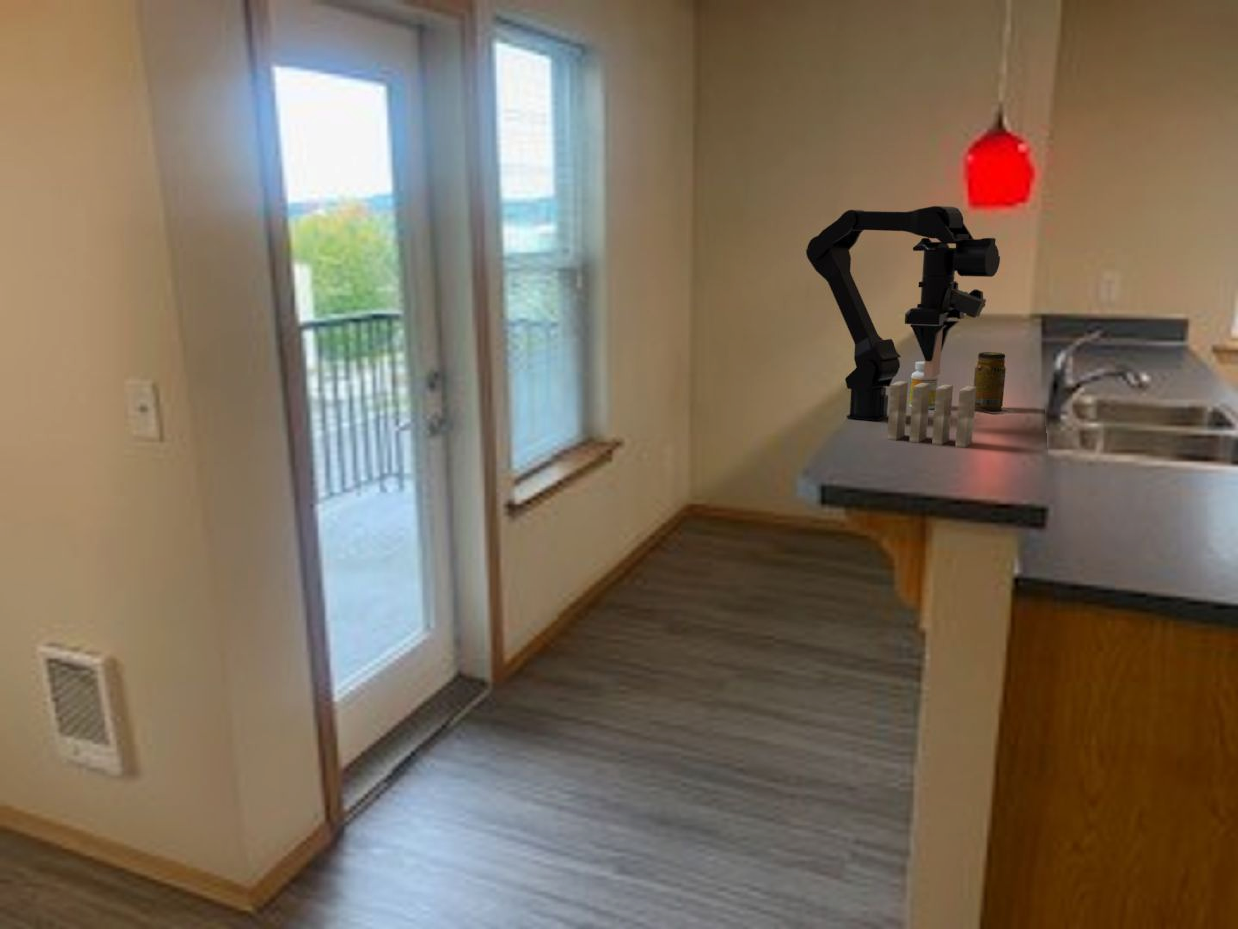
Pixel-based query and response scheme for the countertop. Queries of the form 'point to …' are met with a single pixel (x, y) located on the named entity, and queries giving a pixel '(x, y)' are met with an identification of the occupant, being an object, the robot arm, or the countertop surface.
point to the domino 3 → (934, 359)
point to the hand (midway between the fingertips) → (932, 359)
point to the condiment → (990, 383)
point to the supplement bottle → (919, 378)
